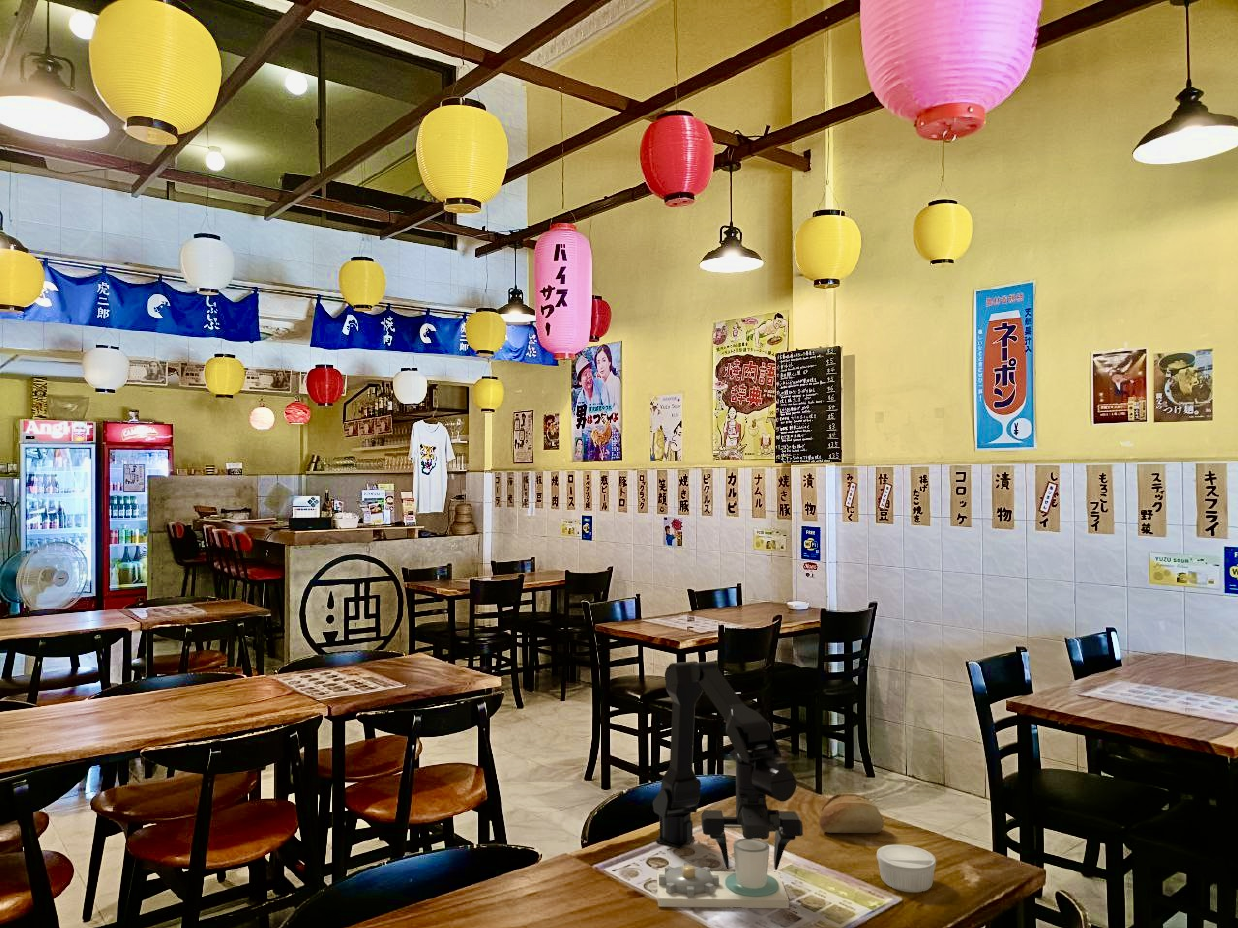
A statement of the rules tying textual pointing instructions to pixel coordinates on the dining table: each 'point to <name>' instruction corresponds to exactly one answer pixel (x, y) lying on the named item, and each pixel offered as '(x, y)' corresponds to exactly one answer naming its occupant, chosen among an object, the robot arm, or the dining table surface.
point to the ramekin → (906, 867)
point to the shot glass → (751, 862)
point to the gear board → (716, 889)
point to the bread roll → (850, 815)
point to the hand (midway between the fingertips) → (751, 868)
